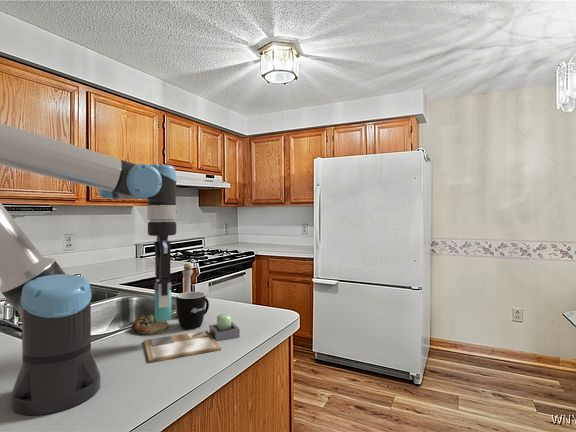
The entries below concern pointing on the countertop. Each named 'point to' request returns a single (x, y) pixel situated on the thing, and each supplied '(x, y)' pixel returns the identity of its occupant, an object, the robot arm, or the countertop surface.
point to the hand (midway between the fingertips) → (162, 304)
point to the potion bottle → (186, 279)
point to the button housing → (224, 332)
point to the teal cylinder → (163, 312)
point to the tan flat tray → (180, 346)
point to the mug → (191, 309)
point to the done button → (223, 322)
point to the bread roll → (148, 325)
